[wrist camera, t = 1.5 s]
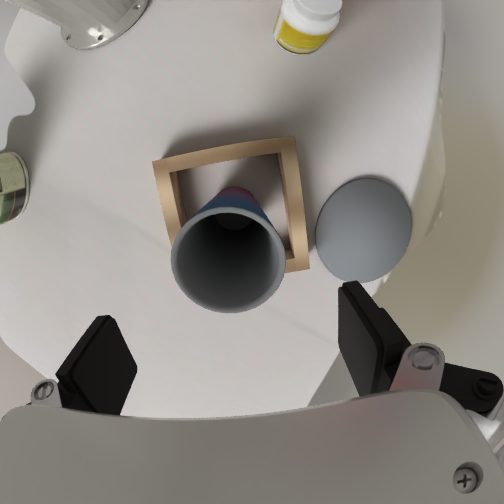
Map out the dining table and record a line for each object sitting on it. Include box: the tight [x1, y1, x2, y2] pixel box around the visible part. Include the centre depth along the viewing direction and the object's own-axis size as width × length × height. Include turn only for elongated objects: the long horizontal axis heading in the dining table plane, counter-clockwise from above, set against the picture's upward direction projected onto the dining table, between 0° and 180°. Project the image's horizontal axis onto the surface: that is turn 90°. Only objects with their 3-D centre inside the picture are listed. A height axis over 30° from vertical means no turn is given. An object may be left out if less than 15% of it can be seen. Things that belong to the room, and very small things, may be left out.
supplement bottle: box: [273, 0, 342, 55], centre depth 19 cm, size 5×5×10 cm
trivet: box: [315, 179, 412, 283], centre depth 31 cm, size 13×13×1 cm
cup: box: [171, 187, 286, 313], centre depth 23 cm, size 7×7×15 cm
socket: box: [152, 136, 310, 273], centre depth 29 cm, size 14×14×3 cm
